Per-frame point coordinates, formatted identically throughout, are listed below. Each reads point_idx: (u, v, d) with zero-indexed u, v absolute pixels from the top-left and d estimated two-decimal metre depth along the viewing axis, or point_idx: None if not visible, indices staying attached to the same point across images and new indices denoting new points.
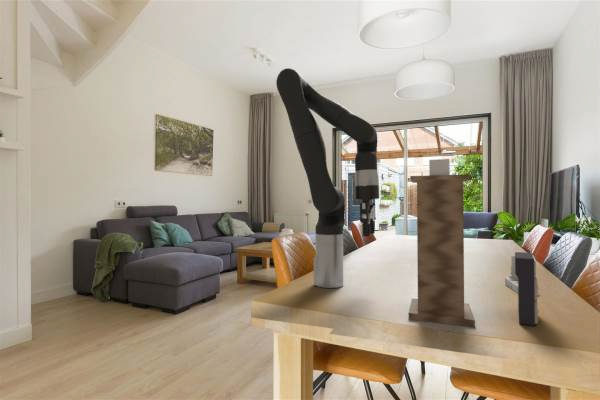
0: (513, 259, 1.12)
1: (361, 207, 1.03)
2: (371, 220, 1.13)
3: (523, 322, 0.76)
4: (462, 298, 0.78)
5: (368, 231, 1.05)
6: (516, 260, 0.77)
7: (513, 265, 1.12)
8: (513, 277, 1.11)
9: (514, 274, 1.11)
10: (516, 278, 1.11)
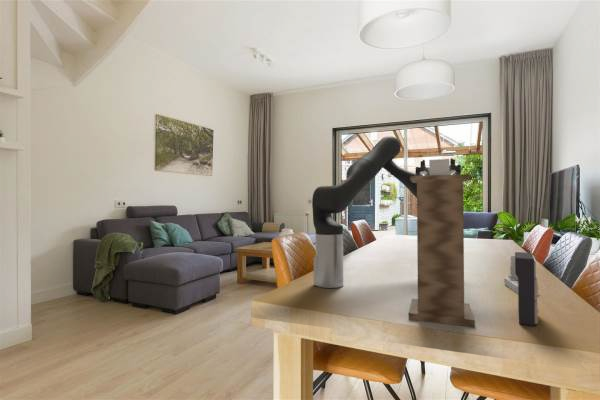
0: (512, 259, 1.12)
1: None
2: None
3: (523, 322, 0.76)
4: (462, 298, 0.78)
5: (453, 164, 1.10)
6: (516, 260, 0.77)
7: (512, 265, 1.12)
8: (512, 277, 1.11)
9: (513, 274, 1.11)
10: (515, 278, 1.11)
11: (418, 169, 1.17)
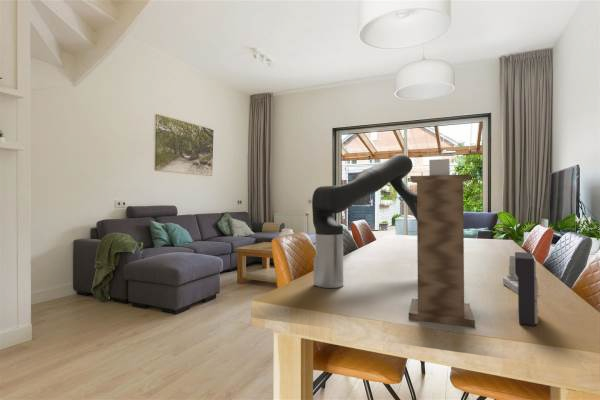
0: (511, 259, 1.12)
1: None
2: None
3: (523, 322, 0.76)
4: (462, 298, 0.78)
5: None
6: (516, 260, 0.77)
7: (511, 265, 1.12)
8: (511, 277, 1.11)
9: (512, 274, 1.11)
10: (514, 278, 1.11)
11: None
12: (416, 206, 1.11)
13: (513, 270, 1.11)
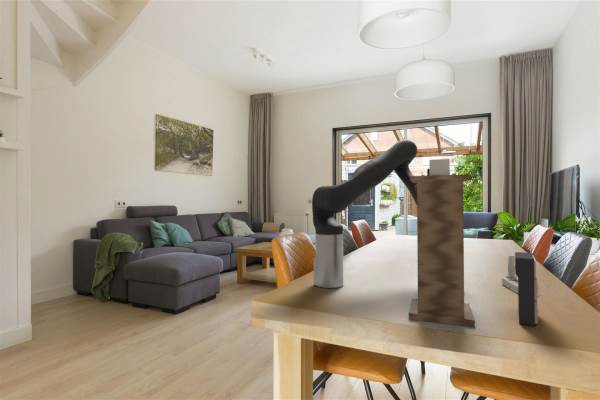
0: (510, 259, 1.12)
1: None
2: None
3: (523, 322, 0.76)
4: (462, 298, 0.78)
5: None
6: (516, 260, 0.77)
7: (510, 265, 1.12)
8: (510, 277, 1.11)
9: (511, 274, 1.12)
10: (513, 278, 1.11)
11: None
12: None
13: (512, 270, 1.11)
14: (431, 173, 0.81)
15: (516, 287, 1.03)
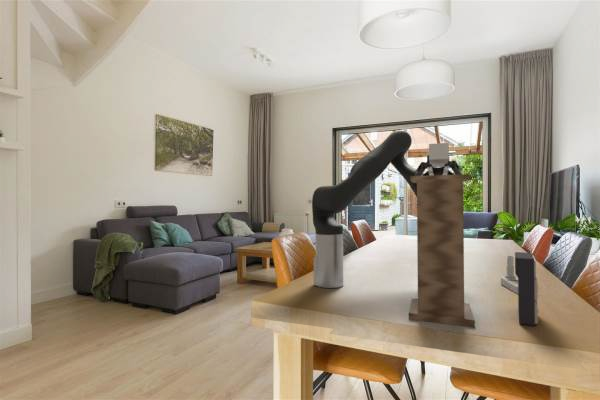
0: (509, 259, 1.12)
1: (460, 169, 1.00)
2: None
3: (523, 322, 0.76)
4: (462, 298, 0.78)
5: None
6: (516, 260, 0.77)
7: (509, 265, 1.12)
8: (509, 277, 1.11)
9: (510, 274, 1.12)
10: (512, 278, 1.11)
11: None
12: (419, 173, 1.02)
13: (511, 270, 1.11)
14: (431, 157, 0.82)
15: (516, 287, 1.03)
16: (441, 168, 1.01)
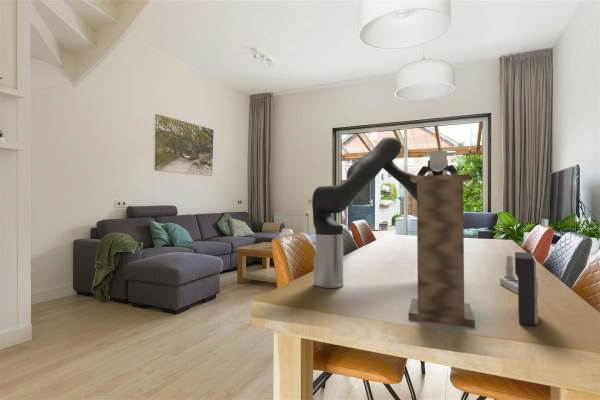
0: (508, 259, 1.12)
1: (457, 172, 1.12)
2: None
3: (523, 322, 0.76)
4: (462, 298, 0.78)
5: None
6: (516, 260, 0.77)
7: (508, 265, 1.12)
8: (509, 277, 1.11)
9: (509, 274, 1.12)
10: (512, 278, 1.11)
11: None
12: None
13: (510, 270, 1.11)
14: (431, 163, 0.94)
15: (516, 287, 1.03)
16: (440, 172, 1.13)
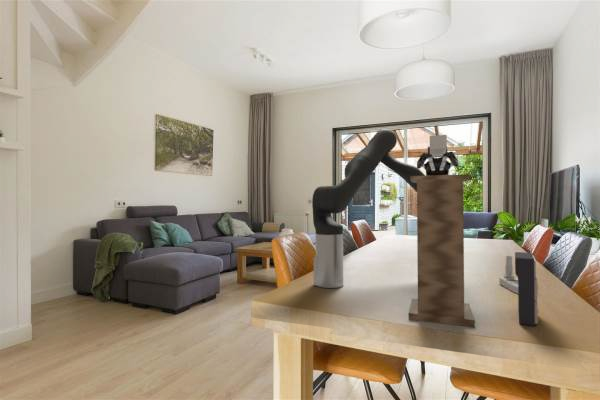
0: (508, 259, 1.12)
1: (457, 159, 1.14)
2: None
3: (523, 322, 0.76)
4: (462, 298, 0.78)
5: None
6: (516, 260, 0.77)
7: (508, 265, 1.12)
8: (508, 277, 1.11)
9: (509, 274, 1.12)
10: (511, 278, 1.11)
11: None
12: (421, 163, 1.16)
13: (510, 270, 1.11)
14: (431, 147, 0.95)
15: (516, 287, 1.03)
16: (440, 158, 1.14)
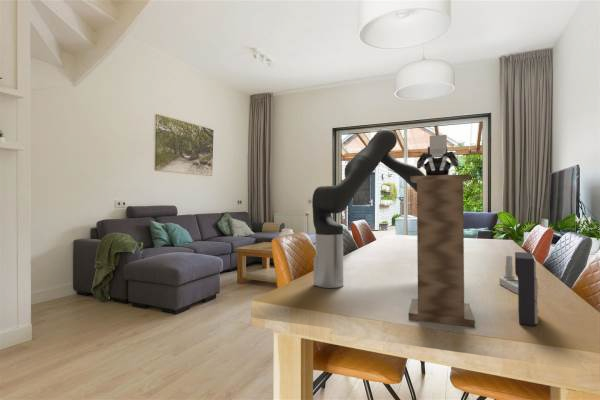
0: (508, 259, 1.12)
1: (457, 159, 1.14)
2: None
3: (523, 322, 0.76)
4: (462, 298, 0.78)
5: None
6: (516, 260, 0.77)
7: (508, 265, 1.12)
8: (508, 277, 1.11)
9: (509, 274, 1.12)
10: (511, 278, 1.11)
11: None
12: (421, 163, 1.16)
13: (510, 270, 1.11)
14: (431, 147, 0.95)
15: (516, 287, 1.03)
16: (440, 158, 1.14)
